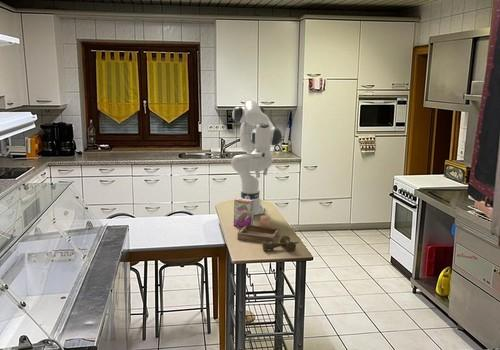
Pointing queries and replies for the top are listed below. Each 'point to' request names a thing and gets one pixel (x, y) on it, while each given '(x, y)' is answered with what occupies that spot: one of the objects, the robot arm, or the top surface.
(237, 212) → the candy bar box
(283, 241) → the kendama
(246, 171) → the robot arm
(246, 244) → the top surface
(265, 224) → the peach rounded capsule
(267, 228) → the tray
